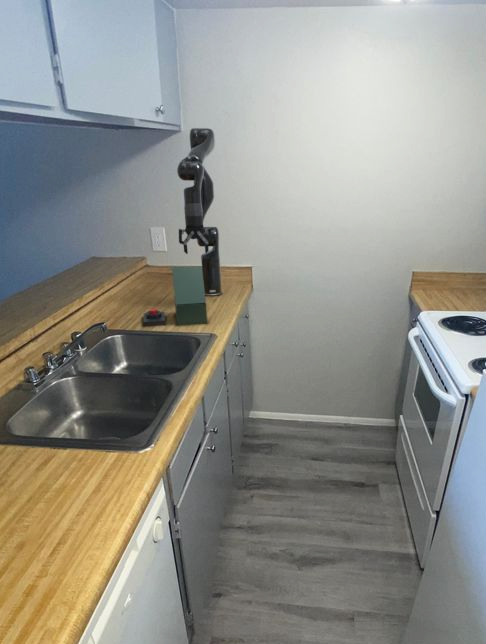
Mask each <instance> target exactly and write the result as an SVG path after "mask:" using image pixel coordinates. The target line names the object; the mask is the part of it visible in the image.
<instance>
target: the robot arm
mask: <svg viewBox="0 0 486 644" xmlns="http://www.w3.org/2000/svg"><path fill="white" fill-rule="evenodd" d="M189 146H190V150H189V152H188V154H187V156H186V157H184V158H182V159H181V160H180V162H178V164H177V169H176V173H177V176H178V178H179V179H180V180H182V181H185V182H186V181H187V182H188V181H189V182H190V181H191V182H193V185H191V186H187V187H185V188H184V189H183V200H184V205H183V206H184V210H183V211H184V221H185V222H184V223H185V228H178V243H179V244H180V245H183V252H184V253H185V255H188V243H189V241H190V240H196V241H197V242H196V243H197V245H198V247H204V252H203V253H202V254H201V255H200V259H201V261H200V262H201V266H202V274H203V282H204V291H205V296H209V297H213V296H219V295H222V279H221V258H220V257H221V256H220V232H219V228H218V227H217V226H204V221H205V218H206V215H207V213H208V211H209V209H210V208H211V206H212V204H213V202H214V199H215V190H214V189H215V186H214V185H215V184H214V181H213V179H212V177H211V175H210V174H209V172H208V171H207V169H206V168H205V166H204V163H205V160H206V159H207V158H208V157H209V156H210V154H211V153H212V152H213V151H214V149H215V147H216V135H215V132H214V130H213V129H212V128H208V127H193V128H191V129H190V131H189ZM184 233H185V234H186V237H185V239H184V240H183V235H184ZM210 247H212V248H211V249H209V248H210Z"/></svg>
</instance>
